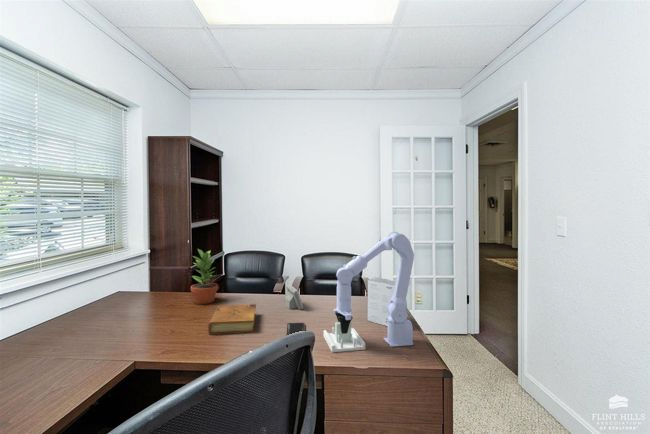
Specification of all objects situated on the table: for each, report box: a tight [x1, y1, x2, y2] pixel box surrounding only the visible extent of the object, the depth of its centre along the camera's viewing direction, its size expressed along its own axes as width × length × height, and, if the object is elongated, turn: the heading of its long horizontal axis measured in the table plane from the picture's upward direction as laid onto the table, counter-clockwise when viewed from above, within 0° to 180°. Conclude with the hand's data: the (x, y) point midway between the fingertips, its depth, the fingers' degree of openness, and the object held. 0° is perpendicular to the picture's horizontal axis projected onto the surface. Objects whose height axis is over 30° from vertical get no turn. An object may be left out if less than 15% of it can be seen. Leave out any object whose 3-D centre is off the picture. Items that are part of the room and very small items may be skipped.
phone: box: [286, 322, 306, 336], centre depth 144 cm, size 8×1×15 cm
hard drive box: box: [366, 276, 396, 327], centre depth 154 cm, size 16×8×20 cm, turn 47°
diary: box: [207, 303, 257, 335], centre depth 152 cm, size 23×19×6 cm
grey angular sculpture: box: [284, 284, 304, 310], centre depth 178 cm, size 16×9×11 cm, turn 11°
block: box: [334, 321, 352, 342], centre depth 132 cm, size 6×2×7 cm, turn 102°
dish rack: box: [323, 326, 366, 353], centre depth 132 cm, size 13×16×4 cm
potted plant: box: [190, 248, 219, 305], centre depth 186 cm, size 15×15×30 cm
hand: (343, 331), depth 132 cm, fingers closed on block, 2 cm apart
